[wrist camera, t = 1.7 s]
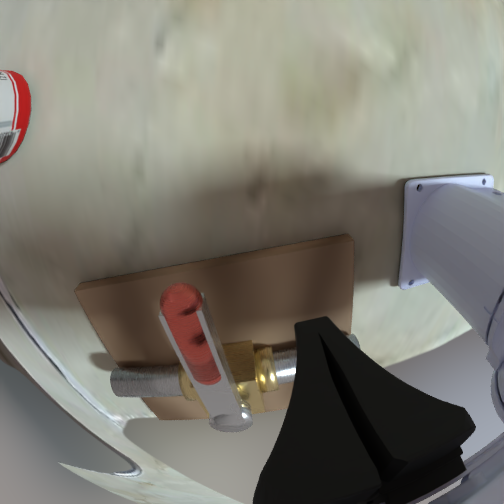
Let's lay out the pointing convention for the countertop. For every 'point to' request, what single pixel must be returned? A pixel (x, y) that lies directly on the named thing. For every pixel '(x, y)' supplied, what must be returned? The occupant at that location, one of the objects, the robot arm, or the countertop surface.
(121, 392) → the valve body
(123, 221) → the countertop surface
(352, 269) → the walnut board
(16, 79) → the beer can
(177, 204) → the countertop surface
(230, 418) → the valve lever
